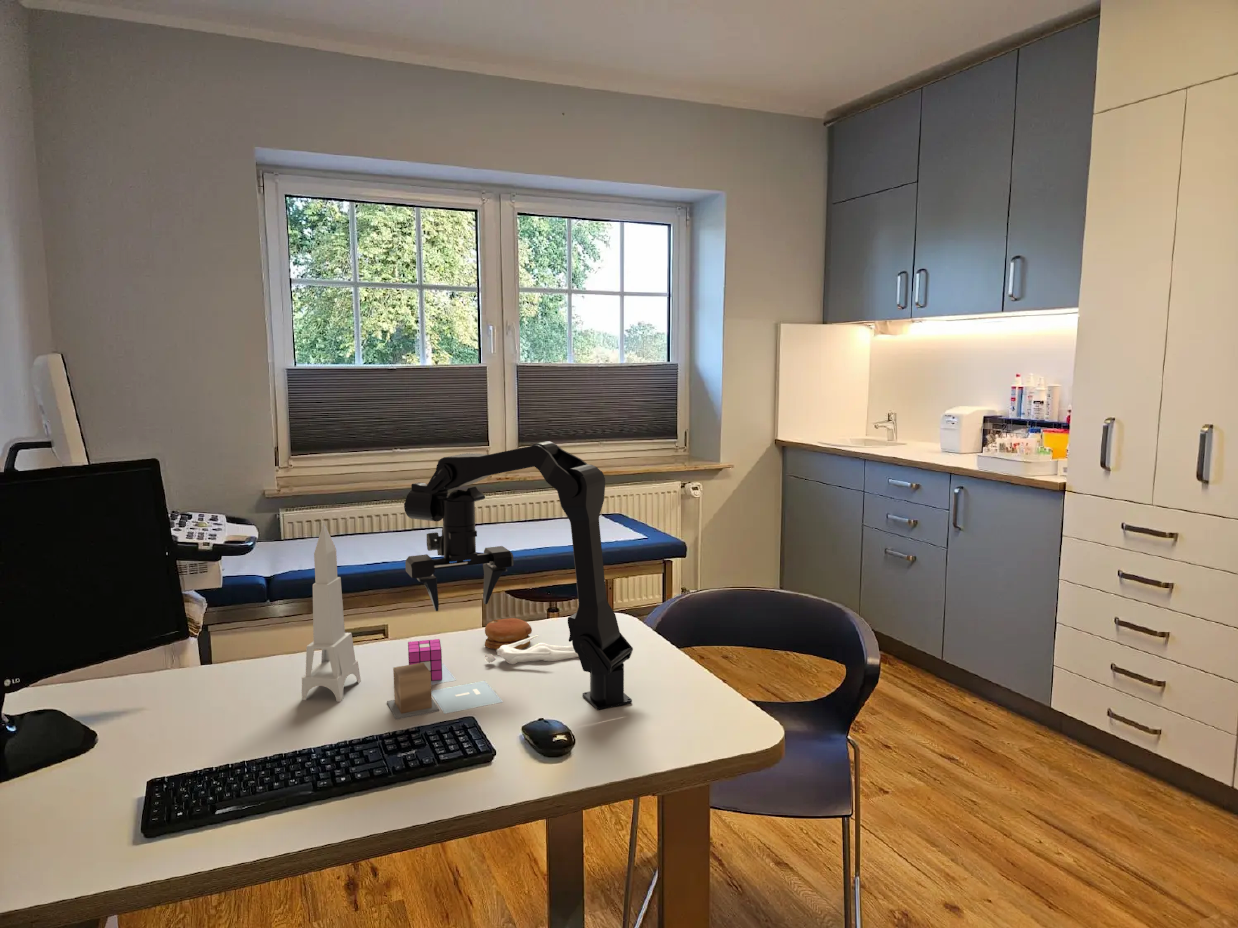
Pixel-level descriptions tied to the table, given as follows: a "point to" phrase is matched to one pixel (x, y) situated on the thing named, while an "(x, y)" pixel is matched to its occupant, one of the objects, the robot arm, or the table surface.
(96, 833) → the table surface
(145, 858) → the table surface
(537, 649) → the figurine
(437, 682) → the code card
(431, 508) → the robot arm
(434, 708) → the pad
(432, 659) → the puzzle toy
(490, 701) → the code card
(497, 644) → the burger
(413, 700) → the walnut block
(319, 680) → the sculpture
